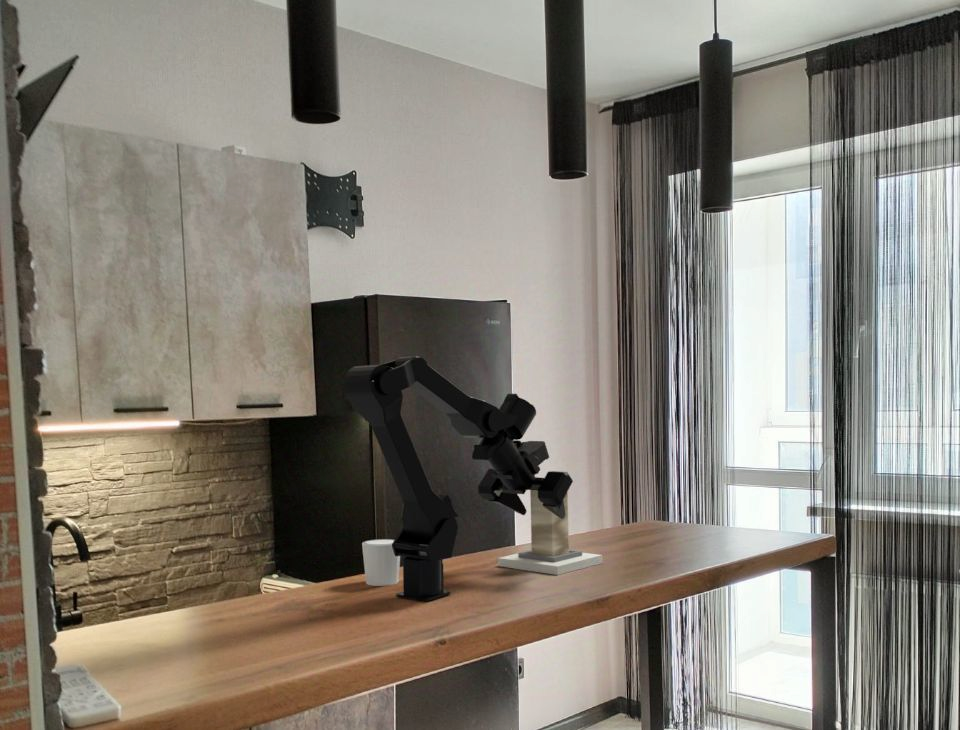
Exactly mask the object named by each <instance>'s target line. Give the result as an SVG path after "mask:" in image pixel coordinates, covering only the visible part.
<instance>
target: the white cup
mask: <svg viewBox="0 0 960 730" xmlns="http://www.w3.org/2000/svg"><path fill="white" fill-rule="evenodd" d="M394 540H395V539H391V538H382V539H381V538H380V539H379V538H378V539H370V540H365V541H363V542H362V543H361V546H362V556H363V558H362V559H363V566H364V567H363V568H364V576H365V577H364V578H365V584H366V585H368V586H374V587H375V586H376V587H380V586H381V587H382V586H383V587H385V586H393V585H397V584H399V579H400V577H399V576H400V566H401V556H395V555H394V551H393V548H392V543H393V542H394Z"/></svg>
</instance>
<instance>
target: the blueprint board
mask: <svg viewBox="0 0 960 730" xmlns="http://www.w3.org/2000/svg"><path fill="white" fill-rule="evenodd" d="M497 559H498V560H497V562H498V563H497V564H498V567H503V568H510V569H516V570H521V571H529V572H537V573H542V574H548V575H555V576H559V575H563V574H567V573H570V572H574V571H578V570H581V569H586V568H589V567H594V566H596V565H601V564H603V555H602V554H596V553H589V552H583V551H582V550H575V549H574V550H573V549H569V553H568V554H564V555H560V556H556V557H551V556H543V555H536V554H532V549H530V550H526V551H522V552H517V553H515V554H511V555H509V554H508V555H506V556H501V557H500V556H499V557H498V558H497Z"/></svg>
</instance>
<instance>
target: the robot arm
mask: <svg viewBox="0 0 960 730" xmlns="http://www.w3.org/2000/svg"><path fill="white" fill-rule="evenodd" d="M408 388H410V389H412V390H413V391H414V392H416V393H417V394H418V395H419V396H421V397H422V398H424V399H425V400H426V401H428V402H429V403H431V405H433V406H435V407H436V408H438V410H440V411H441V412H442V413H444V414H445V415H446V416H447V417H448V418H449V419H448V420H449V423H450V425H451V427H452V428H454V430H455V431H456V432H457V433H458V434H459V435H460V436H461V437H462V438H466V439H468V438H474V439H475V438H478V439H480V440H479V441H478V443H477V444H473V451H472V453H471V454H472V455H471V459H472V460H473V461H486V462H487V463H488V465H489V466H490V468H488V469H487V471H486V472H485V474H484V475H483V477H482V479H481V481H480V482H479V484H478V486H477V493H478V495H479V496H480V497H481V499H482V500H486V501H488V502H489V503H494V504H496V505H498V506H501V507H503V508H506V509H508V510H510V511H513V512H515V513H517V514H519V515H521V516H525V515H526V514H527V508H526V506H525V503H523V501H522V499H521V498H520V496H519V495H525V493H526V492H527V491H530V490H537V491H538V499H539V500H540V501H541V502H542V503H543V506H544V507H545V508H547V509H548V510H549V511H551V512H552V513H554V514H555V515H556V516H558V517H559V518H561V519H564V517H565V508H564V502H563V499H564V497H565V495H566V493H568V492H569V489H570V487H571V485H572V484H573V482H574V481H573V478H572V476H571V475H570V474H569V473H568V471H557V470H555V471H554V470H553V471H552V470H551V471H547V472H546V474H545V476H544V477H536V475H538V474H539V472H540V470H541V467H540V465H541V464H542V463H544V461H546V460H549V458H550V455H549V451H548V449H547V445H546V442H545V441H542V440H541V441H540V440H528V441H521V439H523V437H524V435H525V434H526V432H527V430H528V429H529V427H530V426H531V424H532V422H533V420H534V418H535V417H536V416H537V410H536V407H535V406H534V405H533V404H531V403H530V402H529V401H528V400H526V399H524V398H522V397H519V395H518V394H517V393H507V394H506V396H505V398H504V400H503V402H502V404H501V405H500V406H499V408H498V406H497V405H494V404H493V403H491V402H488V401H486V400H484V399H480V398H477V397H473V396H471V395H469V394H466V393H465V392H464V391H462V389H460V388H459V387H458V386H456V385H455V384H454V383H452V382H451V381H450V380H449V379H447V378H446V377H445V376H443V375H442V374H441V373H439V372H438V371H437V370H436V369H434V368H433V367H432V366H430V365H429V364H428V362H427V361H426V360H425V358H423V357H421V356H419V355H418V356H417V355H413V356H412V355H409V356H401V357H398V358H396V359H394V360H391V361H388V362H384V363H380V364H372V365H371V364H369V365H356V366H353V367H351V368H350V369H349V370H348V371H347V373H346V374H345V376H344V380H343V382H342V389H343V394H344V395H345V397H346V398H347V400H348V402H349V403H350V405H351V406H352V408H353V410H354V411H355V412H356V413H357V414H358V415H359V416H360V417H362V418H363V419H364V420H365V421H366V422H367V423H368V424H369V425H370V427H371V429H372V431H373V434H374V436H375V438H376V440H377V443H378V445H379V447H380V450H381V453H382V455H383V457H384V460H385V461H386V464H387V467H388V469H389V471H390V473H391V476H392V478H393V480H394V483H395V485H396V489H397V490H398V492H399V494H400V496H401V497H400V498H401V499H402V510H401V515H400V516H401V522H402V528H401V530H399V533H398V534H397V536H396V537H395V539H393V540H394V542H393V543H392V548H393V551H394V555H395V556H400V557H403V558H402V574H403V575H402V581H403V582H402V583H403V589H402V590H403V591H401V592H397V593H395V597H396V598H399V599H400V598H401V599H407V600H413V601H414V600H415V601H420V602H421V601H422V602H429V601H433V600H436V599H439V598H442V597H445V596H447V595H450V594H451V592H452V591H451V590H449V589H444V588H445V586H444V585H445V582H444V578H445V577H444V563H443V562H444V561H443V560H447V559H451V558H452V556H453V552H454V548H455V547H454V546H455V543H456V539H457V533H458V529H459V524H458V521H457V518H458V517H459V514H458V513H457V512H456V511H455V508H454V507H453V503H452V500H451V498H450V496H449V495H448V494H439V493H436V492H435V491H434V490H433V489H432V487H431V484H430V481H429V480H428V477H427V475H426V472H425V469H424V466H423V465H422V462H421V460H420V458H419V456H418V455H419V454H418V452H417V449H416V448H415V445H414V443H413V441H412V438H411V436H410V433H409V431H408V428H407V426H406V424H405V421H404V419H403V416H402V404H403V398H404V395H403V391H404V390H406V389H408Z"/></svg>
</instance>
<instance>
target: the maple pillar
mask: <svg viewBox="0 0 960 730" xmlns="http://www.w3.org/2000/svg"><path fill="white" fill-rule="evenodd" d="M529 491H530V534H531V537H530V539H531V550H532V554H536V555H543V556H551V557H556V556H560V555H564V554H568V553H569V550H570V548H569V547H570V544H569V543H570V542H569V537H570V536H569V506H568V505H569V502H568V501H569V500H568V492H567V493H566V495H565V497H564V499H563V502H564V508H565V517H564V519H561V518H559V517H558V516H556V515H555V514H554V513H552V512H551V511H549V510H548V509H547V508H545V507H544V506H543V503H542V502H541V501H540V500H539V499H538V491H537V490H529Z"/></svg>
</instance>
